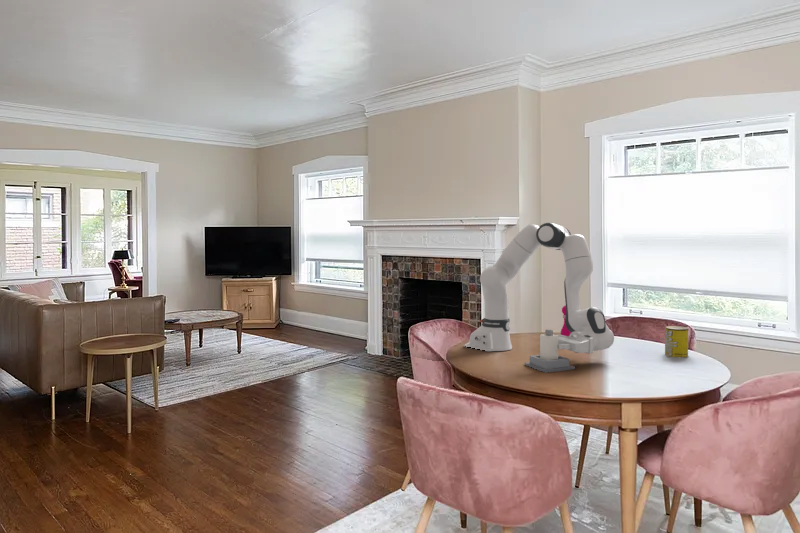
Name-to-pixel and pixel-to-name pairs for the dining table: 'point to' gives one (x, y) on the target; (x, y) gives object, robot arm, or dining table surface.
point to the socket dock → (549, 364)
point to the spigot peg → (548, 346)
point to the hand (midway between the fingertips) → (550, 344)
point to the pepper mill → (564, 329)
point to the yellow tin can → (676, 341)
